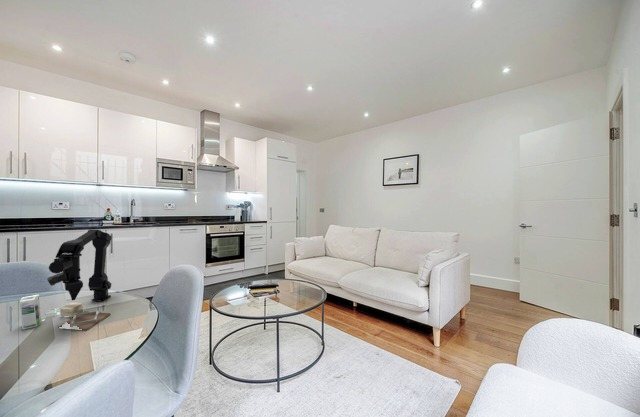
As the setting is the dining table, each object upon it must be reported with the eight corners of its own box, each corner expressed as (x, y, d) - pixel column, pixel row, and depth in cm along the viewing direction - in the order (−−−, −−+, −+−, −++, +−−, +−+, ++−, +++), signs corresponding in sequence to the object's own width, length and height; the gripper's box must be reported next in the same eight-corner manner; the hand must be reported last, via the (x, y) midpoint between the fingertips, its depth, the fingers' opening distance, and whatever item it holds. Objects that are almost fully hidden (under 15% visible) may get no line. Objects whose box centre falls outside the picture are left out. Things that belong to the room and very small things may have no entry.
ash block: (72, 311, 140) (71, 302, 139) (82, 311, 140) (82, 303, 139) (60, 317, 134) (60, 308, 133) (72, 318, 134) (71, 309, 133)
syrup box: (22, 330, 122) (19, 301, 120) (24, 324, 126) (21, 296, 124) (39, 326, 126) (37, 298, 124) (41, 320, 130) (39, 293, 128)
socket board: (84, 312, 139) (84, 308, 138) (110, 314, 139) (110, 310, 138) (58, 328, 125) (57, 323, 125) (86, 331, 125) (86, 326, 124)
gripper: (47, 265, 128) (47, 295, 129) (49, 275, 116) (50, 308, 117) (77, 261, 136) (78, 290, 137) (83, 270, 124) (83, 301, 125)
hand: (72, 297), depth 129 cm, fingers open, 9 cm apart
